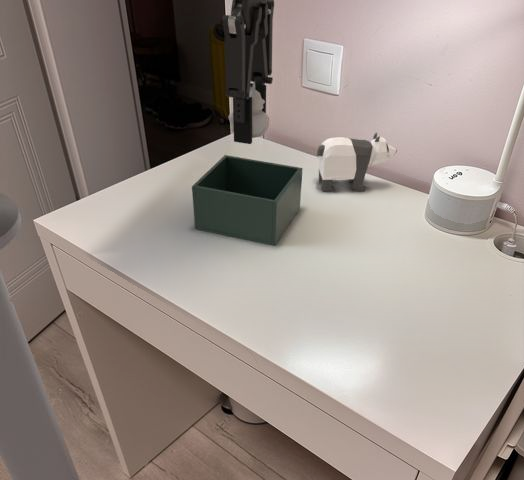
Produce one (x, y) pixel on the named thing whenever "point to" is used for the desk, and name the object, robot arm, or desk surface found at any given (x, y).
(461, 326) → the desk surface
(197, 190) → the bin
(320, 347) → the desk surface
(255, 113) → the grey toy figure
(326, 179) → the giant panda
